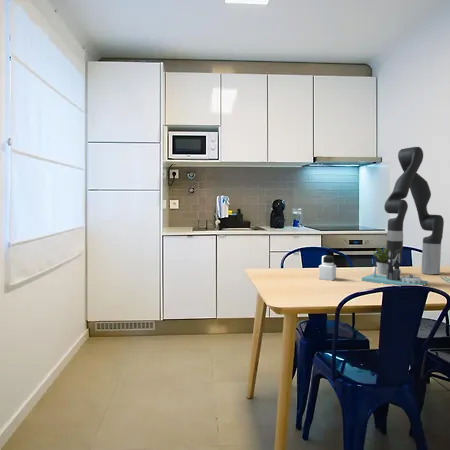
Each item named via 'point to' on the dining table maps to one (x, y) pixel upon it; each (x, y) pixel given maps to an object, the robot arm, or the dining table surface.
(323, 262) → the medicine bottle
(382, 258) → the house plant
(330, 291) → the dining table surface
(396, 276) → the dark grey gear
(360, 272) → the dining table surface
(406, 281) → the gear board
